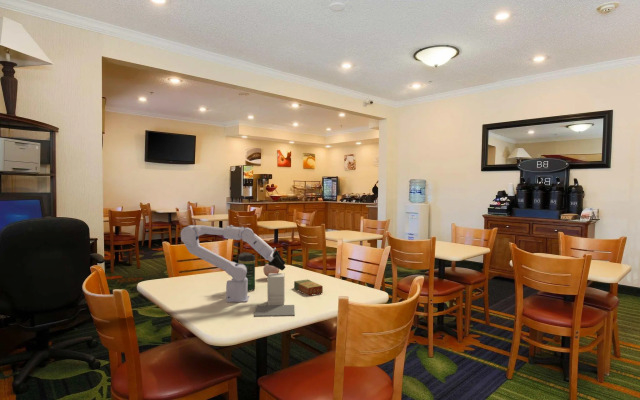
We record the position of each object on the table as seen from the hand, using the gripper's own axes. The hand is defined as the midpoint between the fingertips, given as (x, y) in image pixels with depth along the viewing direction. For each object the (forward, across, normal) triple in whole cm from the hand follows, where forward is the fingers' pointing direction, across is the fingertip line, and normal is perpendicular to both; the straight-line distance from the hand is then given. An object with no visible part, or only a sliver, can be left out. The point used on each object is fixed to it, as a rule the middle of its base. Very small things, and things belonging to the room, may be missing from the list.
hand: (283, 266), depth 169 cm
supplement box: (+7, -9, +13) cm, 17 cm away
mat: (+6, -20, +12) cm, 24 cm away
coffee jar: (-3, +16, +24) cm, 29 cm away
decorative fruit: (+6, +38, +18) cm, 43 cm away
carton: (+20, +11, +4) cm, 23 cm away
